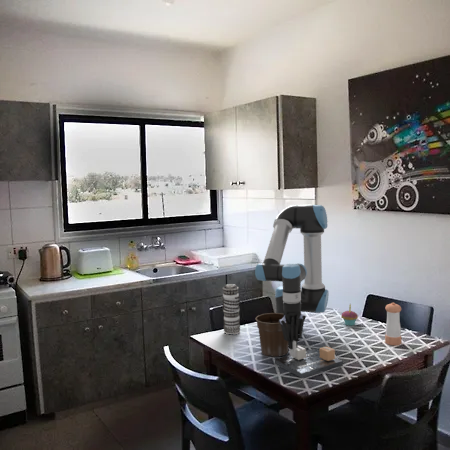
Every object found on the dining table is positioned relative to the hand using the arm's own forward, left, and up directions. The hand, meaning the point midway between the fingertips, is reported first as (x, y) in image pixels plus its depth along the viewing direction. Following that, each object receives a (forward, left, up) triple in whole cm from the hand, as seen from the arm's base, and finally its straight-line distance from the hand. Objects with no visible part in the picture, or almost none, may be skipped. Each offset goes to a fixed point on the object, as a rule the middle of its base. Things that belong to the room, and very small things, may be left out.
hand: (293, 355), depth 206 cm
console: (+4, +5, -4) cm, 7 cm away
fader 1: (0, +3, -1) cm, 3 cm away
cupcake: (-25, +58, -4) cm, 63 cm away
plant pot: (-16, +2, -4) cm, 16 cm away
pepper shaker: (+7, +54, -4) cm, 54 cm away
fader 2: (+8, +12, -1) cm, 14 cm away
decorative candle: (-51, +1, -4) cm, 51 cm away
